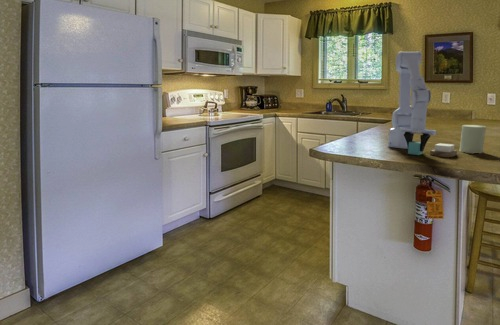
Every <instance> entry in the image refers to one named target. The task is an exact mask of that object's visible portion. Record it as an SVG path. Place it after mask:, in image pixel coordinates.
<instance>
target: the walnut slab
mask: <svg viewBox="0 0 500 325" xmlns="http://www.w3.org/2000/svg"><path fill="white" fill-rule="evenodd" d="M457 154H458V151H457V150H455V149H454V151H452V152H441V151H434V149H432V150H430V152H429V155H430V156H433V155H434V157H440V158H442V157H444V158H449V157H451V158H453V157H455V156H457Z"/></svg>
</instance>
